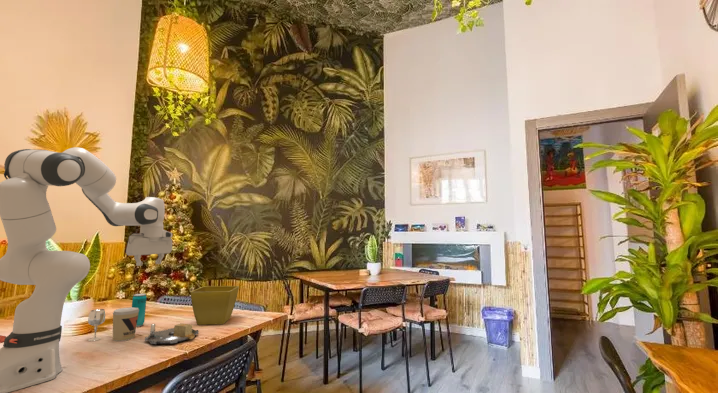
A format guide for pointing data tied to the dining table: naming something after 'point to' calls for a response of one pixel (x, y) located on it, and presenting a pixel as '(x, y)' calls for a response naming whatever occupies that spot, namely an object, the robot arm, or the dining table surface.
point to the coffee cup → (124, 323)
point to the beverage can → (140, 307)
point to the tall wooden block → (183, 329)
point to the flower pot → (213, 304)
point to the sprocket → (167, 336)
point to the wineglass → (96, 320)
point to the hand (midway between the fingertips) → (149, 264)
